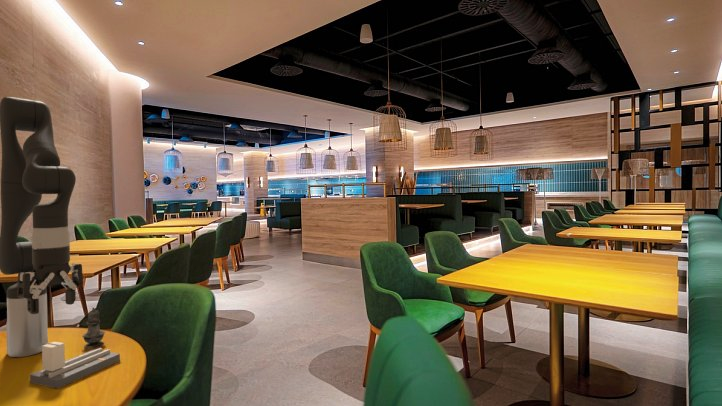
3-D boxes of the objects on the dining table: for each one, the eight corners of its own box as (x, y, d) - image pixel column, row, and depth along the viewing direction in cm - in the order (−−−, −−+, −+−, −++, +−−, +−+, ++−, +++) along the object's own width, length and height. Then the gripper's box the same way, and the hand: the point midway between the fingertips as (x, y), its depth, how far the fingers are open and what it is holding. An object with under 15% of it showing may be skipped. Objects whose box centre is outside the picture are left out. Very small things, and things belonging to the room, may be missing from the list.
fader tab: (42, 373, 100) (42, 345, 100) (55, 368, 103) (54, 341, 103) (52, 375, 99) (52, 347, 99) (64, 370, 102) (64, 342, 102)
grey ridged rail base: (29, 382, 100) (29, 370, 100) (94, 356, 116) (94, 345, 116) (57, 388, 97) (57, 376, 97) (119, 360, 113) (119, 350, 113)
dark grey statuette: (93, 349, 121) (93, 310, 121) (77, 348, 122) (77, 309, 122) (109, 342, 127) (109, 305, 127) (94, 341, 128) (93, 304, 128)
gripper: (69, 241, 108) (70, 300, 108) (8, 248, 95) (10, 315, 95) (89, 242, 106) (90, 302, 106) (30, 249, 92) (31, 318, 93)
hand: (52, 308), depth 101 cm, fingers open, 8 cm apart
